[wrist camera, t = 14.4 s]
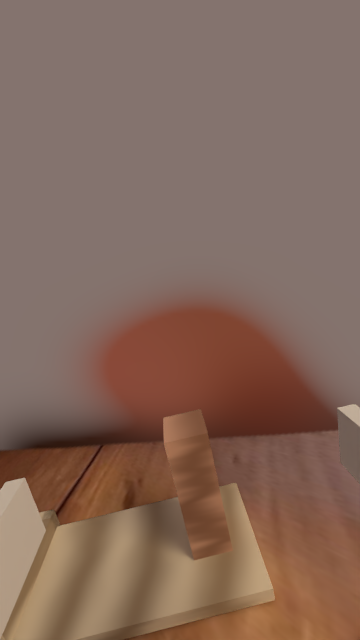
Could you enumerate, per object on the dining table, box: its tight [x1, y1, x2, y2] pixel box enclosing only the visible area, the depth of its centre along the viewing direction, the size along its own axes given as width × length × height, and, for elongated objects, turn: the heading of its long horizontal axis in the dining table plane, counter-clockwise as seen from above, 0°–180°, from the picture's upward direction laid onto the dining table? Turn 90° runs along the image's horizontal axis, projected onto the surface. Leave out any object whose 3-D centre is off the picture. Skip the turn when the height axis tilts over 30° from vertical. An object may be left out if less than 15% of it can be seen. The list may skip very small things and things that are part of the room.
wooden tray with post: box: [0, 409, 275, 640], centre depth 23 cm, size 32×11×13 cm, turn 94°
